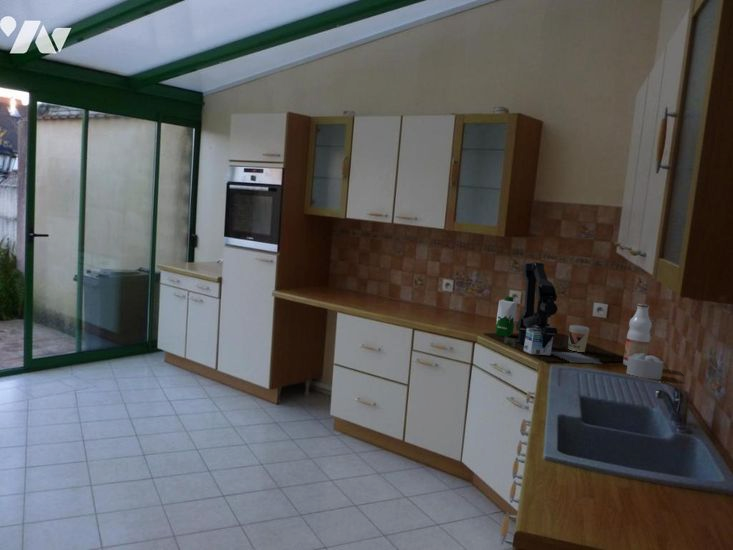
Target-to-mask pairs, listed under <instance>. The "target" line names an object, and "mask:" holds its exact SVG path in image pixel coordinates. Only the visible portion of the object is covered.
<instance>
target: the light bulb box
mask: <svg viewBox="0 0 733 550" xmlns="http://www.w3.org/2000/svg"><path fill="white" fill-rule="evenodd" d="M541 333H543V332H542V331H541V329H531V328H527V330H526V337H525V344H524V345H523V352H525V353H527V354H530V355H541V356H551V355H552V354H551V352H552V348H553V341H554V336H553V337H552V338H551V340H550V341H549V343H548V344H547V345H546V347H545V348H543V347H542V341H543V336H542V334H541Z"/></svg>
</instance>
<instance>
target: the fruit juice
mask: <svg viewBox="0 0 733 550" xmlns="http://www.w3.org/2000/svg"><path fill="white" fill-rule="evenodd" d="M636 308H637V309H636V310H635V311H636V312H635V313H634V315H633V317H631V318H630V319H629V323H628V325H629V326H628V327H629V329H628V331H627V333H626V341H625V346H624V355H623V358H622V359H623V360H622V364H623V365H624V366H628V359H629V356H633V355H634V354H640V353H643V354H645V355H646V356H648V354H649V353H648V352H649V346H650V341H651V334H650V332H651V329H652V327H653V326H652V324H653V323H652V321H651V319H650V316H649V315H650V314H649V309H650V305H649V304H645V303H637V305H636Z"/></svg>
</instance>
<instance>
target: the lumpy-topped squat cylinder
mask: <svg viewBox="0 0 733 550" xmlns="http://www.w3.org/2000/svg"><path fill="white" fill-rule="evenodd" d="M663 370H664V361H663V360H661V358H659V357H657V356H655V355H650V354H649V355H648V354H647V356H646V355H645V354H643V353H640V354H634V355H633V356H629V359H628V366H627V367H626V374H627V375H629V374H630V376H632V375H634V376H633V377H636V376H638V377H637V378H641V377H643V378H642V379H648V378H649V380H662V376H663Z"/></svg>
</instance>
